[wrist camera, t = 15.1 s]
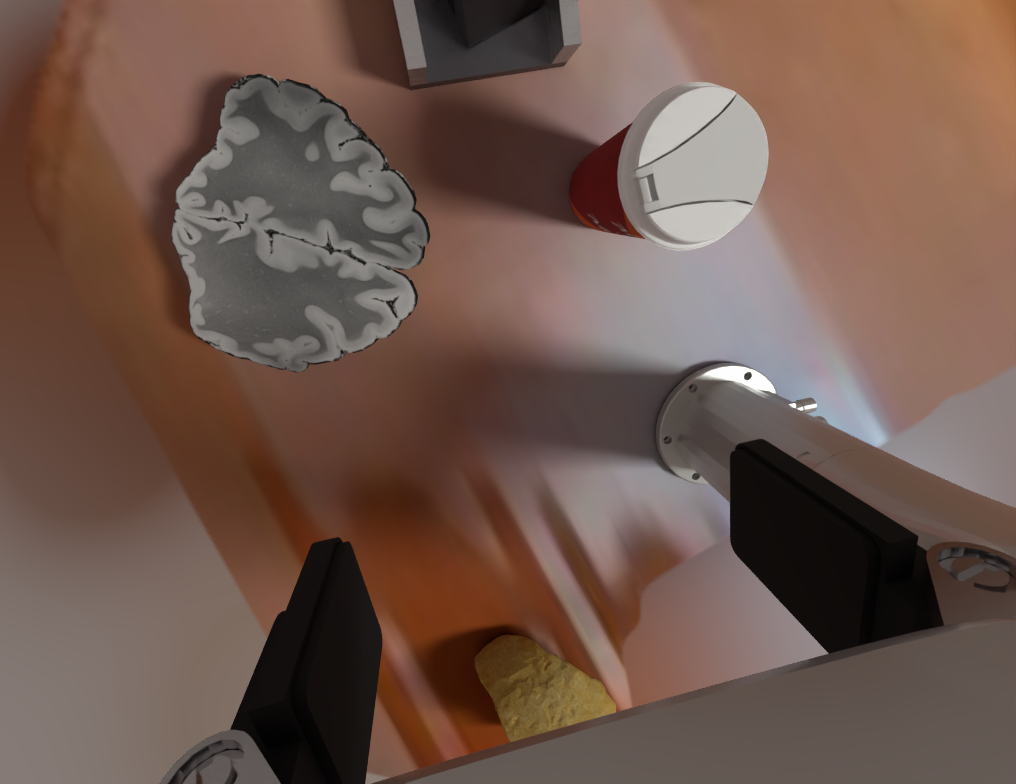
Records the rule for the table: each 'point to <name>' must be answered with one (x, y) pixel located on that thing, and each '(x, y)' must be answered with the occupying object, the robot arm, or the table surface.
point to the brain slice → (295, 231)
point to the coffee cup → (676, 170)
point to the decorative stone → (537, 688)
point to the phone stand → (487, 16)
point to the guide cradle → (483, 43)
